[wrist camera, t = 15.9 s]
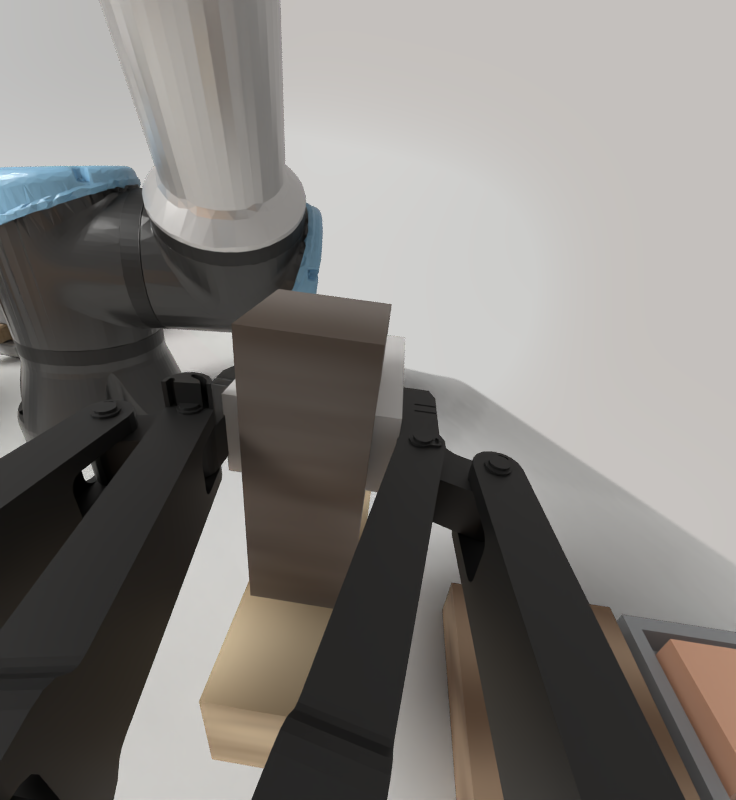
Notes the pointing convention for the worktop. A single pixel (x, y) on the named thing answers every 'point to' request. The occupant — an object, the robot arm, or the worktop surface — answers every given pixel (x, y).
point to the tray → (644, 645)
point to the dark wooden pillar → (293, 501)
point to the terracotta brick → (707, 699)
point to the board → (469, 716)
